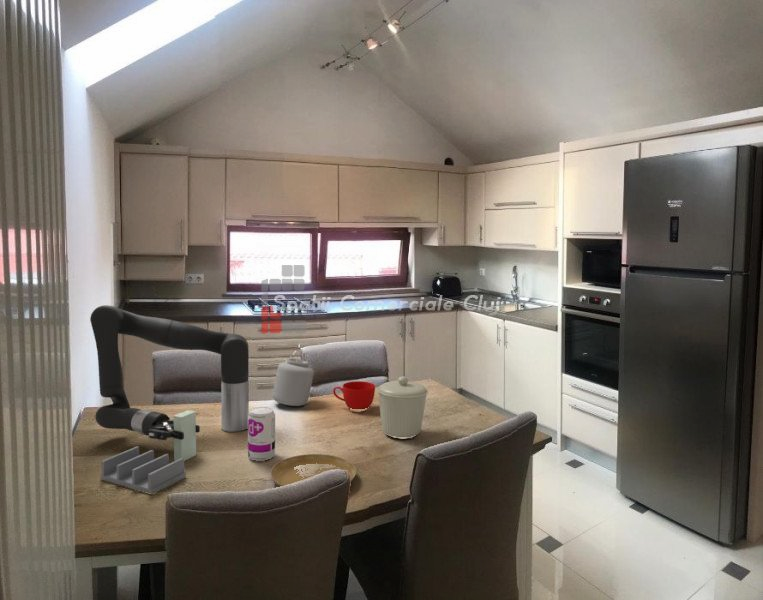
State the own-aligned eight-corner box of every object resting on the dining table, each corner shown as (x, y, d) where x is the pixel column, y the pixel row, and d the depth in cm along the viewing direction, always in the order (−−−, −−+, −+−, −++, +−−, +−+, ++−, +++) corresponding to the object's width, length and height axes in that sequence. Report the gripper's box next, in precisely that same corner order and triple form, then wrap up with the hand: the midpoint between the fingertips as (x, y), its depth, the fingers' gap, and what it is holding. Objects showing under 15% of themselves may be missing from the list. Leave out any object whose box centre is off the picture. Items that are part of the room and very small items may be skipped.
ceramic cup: (336, 403, 224) (337, 379, 222) (376, 405, 221) (377, 382, 220) (329, 412, 211) (329, 388, 210) (371, 416, 209) (372, 391, 207)
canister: (437, 435, 191) (439, 377, 188) (403, 448, 178) (406, 386, 175) (398, 422, 203) (400, 367, 201) (365, 433, 190) (366, 375, 187)
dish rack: (100, 479, 149) (100, 460, 148) (136, 463, 160) (135, 445, 159) (152, 495, 141) (151, 475, 141) (185, 477, 152) (185, 458, 152)
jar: (306, 396, 232) (307, 339, 229) (324, 405, 220) (325, 345, 217) (266, 402, 221) (266, 343, 218) (281, 413, 209) (282, 350, 206)
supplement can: (261, 464, 162) (262, 416, 160) (242, 458, 166) (242, 411, 164) (280, 455, 169) (280, 409, 167) (261, 449, 173) (261, 404, 171)
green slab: (174, 460, 163) (173, 415, 161) (188, 453, 168) (188, 410, 167) (181, 462, 162) (181, 417, 160) (196, 455, 167) (195, 411, 165)
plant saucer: (316, 456, 170) (317, 446, 169) (373, 481, 154) (373, 470, 154) (252, 481, 152) (252, 470, 151) (309, 511, 136) (309, 499, 136)
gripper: (131, 418, 163) (173, 428, 156) (167, 405, 176) (207, 413, 169) (131, 442, 164) (173, 452, 157) (168, 427, 177) (207, 436, 170)
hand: (191, 432), depth 163 cm, fingers closed on green slab, 6 cm apart
